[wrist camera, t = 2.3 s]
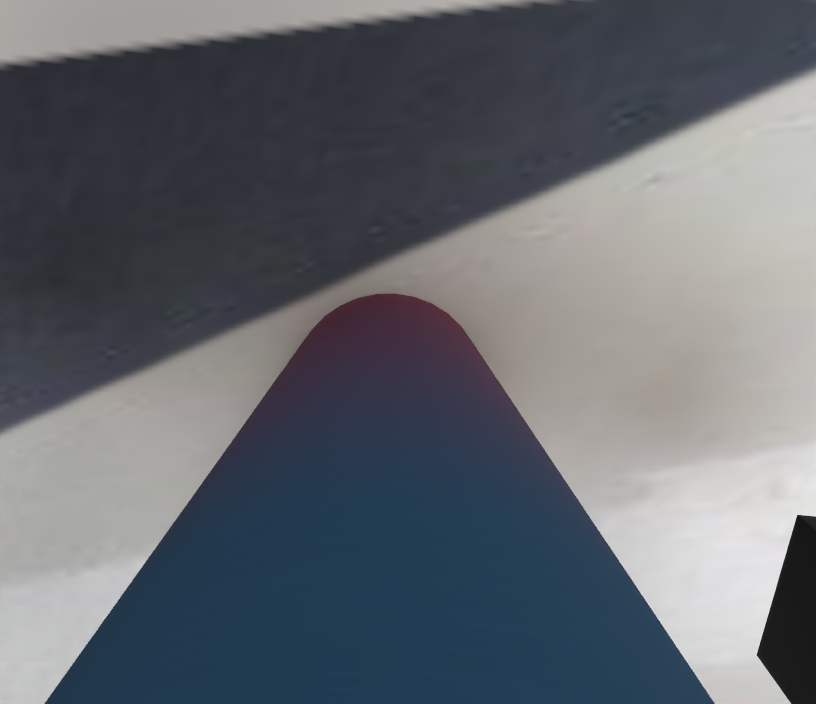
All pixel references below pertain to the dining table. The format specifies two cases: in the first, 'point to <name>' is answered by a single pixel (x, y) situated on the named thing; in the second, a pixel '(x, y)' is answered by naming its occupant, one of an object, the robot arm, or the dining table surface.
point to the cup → (382, 550)
